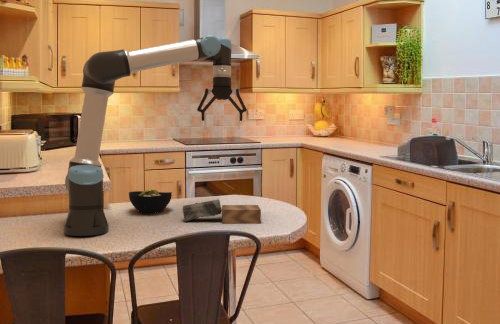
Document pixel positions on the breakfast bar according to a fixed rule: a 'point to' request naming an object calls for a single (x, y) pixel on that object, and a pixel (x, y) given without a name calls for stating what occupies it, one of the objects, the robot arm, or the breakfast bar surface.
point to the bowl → (150, 201)
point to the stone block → (201, 210)
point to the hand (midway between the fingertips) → (221, 129)
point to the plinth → (241, 214)
